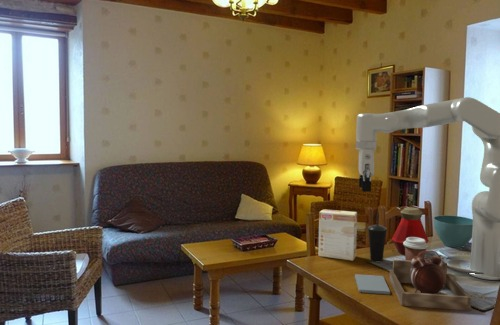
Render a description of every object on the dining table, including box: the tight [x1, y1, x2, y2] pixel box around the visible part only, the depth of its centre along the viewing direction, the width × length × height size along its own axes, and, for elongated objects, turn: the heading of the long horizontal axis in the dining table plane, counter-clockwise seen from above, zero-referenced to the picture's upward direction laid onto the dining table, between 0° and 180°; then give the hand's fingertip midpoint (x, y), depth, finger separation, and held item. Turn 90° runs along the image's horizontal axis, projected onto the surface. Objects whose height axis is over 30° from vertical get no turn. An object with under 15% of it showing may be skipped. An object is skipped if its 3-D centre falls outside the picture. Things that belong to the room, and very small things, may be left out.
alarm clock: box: [410, 250, 446, 294], centre depth 131 cm, size 11×5×15 cm, turn 92°
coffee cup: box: [403, 237, 429, 261], centre depth 155 cm, size 9×9×12 cm
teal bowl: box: [433, 214, 473, 249], centre depth 187 cm, size 18×18×12 cm
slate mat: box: [354, 273, 391, 295], centre depth 139 cm, size 10×14×1 cm
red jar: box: [391, 206, 429, 256], centre depth 174 cm, size 16×14×20 cm
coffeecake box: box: [317, 208, 358, 261], centre depth 169 cm, size 15×7×20 cm, turn 66°
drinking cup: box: [367, 212, 388, 262], centre depth 165 cm, size 8×8×20 cm
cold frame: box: [389, 259, 472, 312], centre depth 131 cm, size 20×20×8 cm
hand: (364, 189), depth 154 cm, fingers open, 9 cm apart
